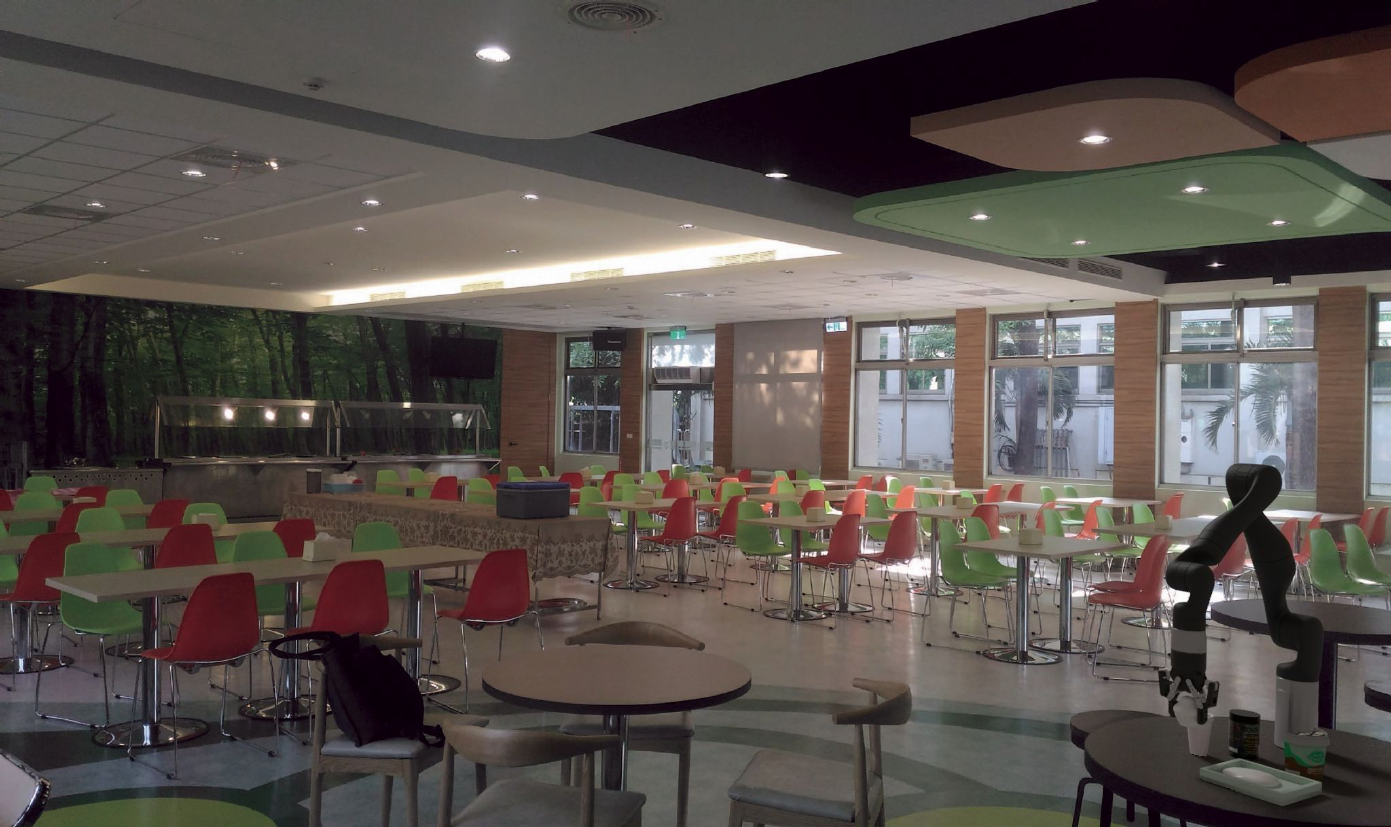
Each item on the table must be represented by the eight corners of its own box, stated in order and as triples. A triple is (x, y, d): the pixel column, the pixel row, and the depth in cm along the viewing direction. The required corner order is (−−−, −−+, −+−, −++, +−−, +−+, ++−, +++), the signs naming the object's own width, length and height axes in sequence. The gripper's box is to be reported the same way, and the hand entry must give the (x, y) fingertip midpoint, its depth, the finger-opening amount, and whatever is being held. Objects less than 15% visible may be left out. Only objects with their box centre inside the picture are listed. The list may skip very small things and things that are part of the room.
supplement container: (1266, 759, 242) (1267, 715, 242) (1246, 762, 239) (1247, 717, 240) (1241, 750, 248) (1242, 708, 248) (1221, 753, 246) (1222, 710, 246)
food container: (1308, 785, 224) (1309, 740, 224) (1281, 776, 230) (1282, 732, 230) (1341, 778, 230) (1342, 734, 230) (1313, 770, 235) (1315, 726, 236)
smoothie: (1216, 759, 240) (1218, 700, 241) (1187, 757, 242) (1189, 698, 242) (1208, 751, 247) (1210, 694, 247) (1180, 748, 248) (1182, 691, 248)
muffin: (1205, 725, 235) (1206, 695, 235) (1197, 731, 230) (1197, 700, 230) (1177, 719, 239) (1178, 690, 239) (1168, 725, 234) (1169, 694, 235)
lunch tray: (1238, 769, 234) (1239, 758, 234) (1321, 794, 219) (1321, 782, 219) (1199, 779, 225) (1199, 768, 225) (1282, 806, 210) (1282, 794, 210)
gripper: (1228, 652, 231) (1226, 726, 231) (1169, 640, 243) (1168, 710, 243) (1209, 656, 227) (1208, 731, 226) (1150, 643, 239) (1149, 714, 239)
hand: (1187, 720), depth 235 cm, fingers closed on muffin, 6 cm apart
